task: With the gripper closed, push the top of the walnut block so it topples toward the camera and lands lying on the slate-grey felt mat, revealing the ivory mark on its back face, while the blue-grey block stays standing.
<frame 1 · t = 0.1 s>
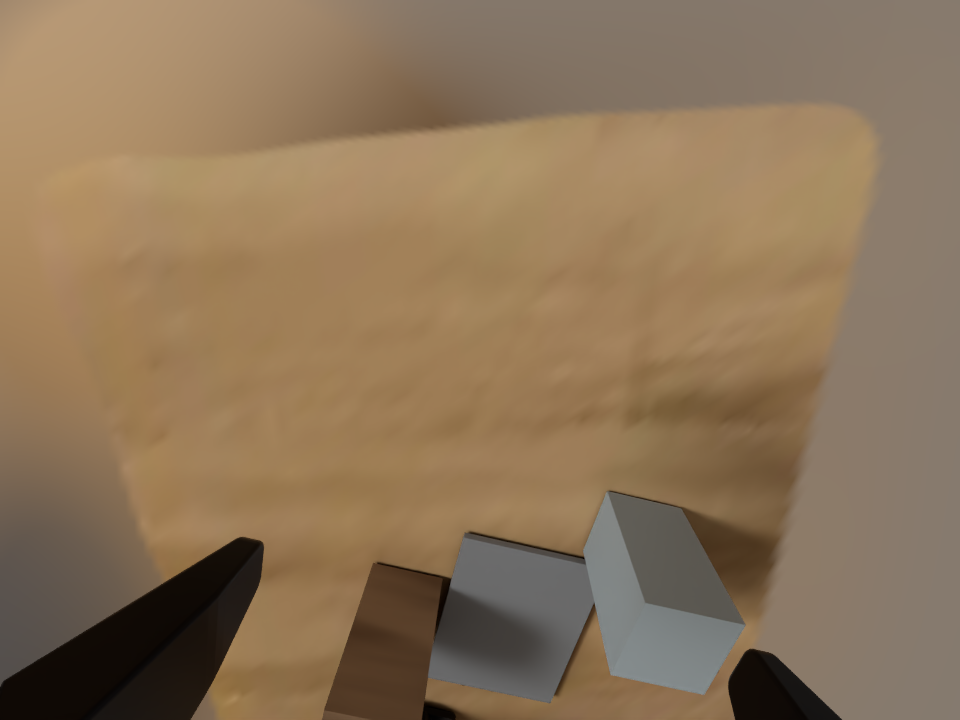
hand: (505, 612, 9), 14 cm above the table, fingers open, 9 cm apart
bluegrey block: (631, 530, 25), on the table
felt mat: (510, 620, 28), on the table
walnut block: (401, 596, 28), on the table
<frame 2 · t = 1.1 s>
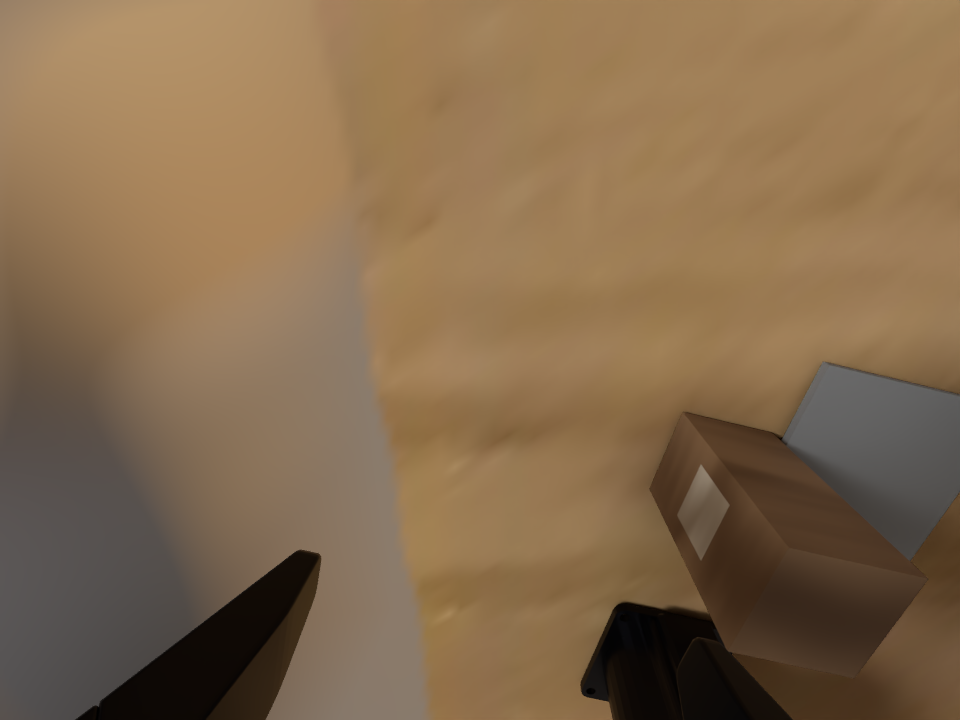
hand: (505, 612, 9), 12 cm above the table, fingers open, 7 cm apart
felt mat: (848, 494, 21), on the table
walnut block: (709, 461, 21), on the table
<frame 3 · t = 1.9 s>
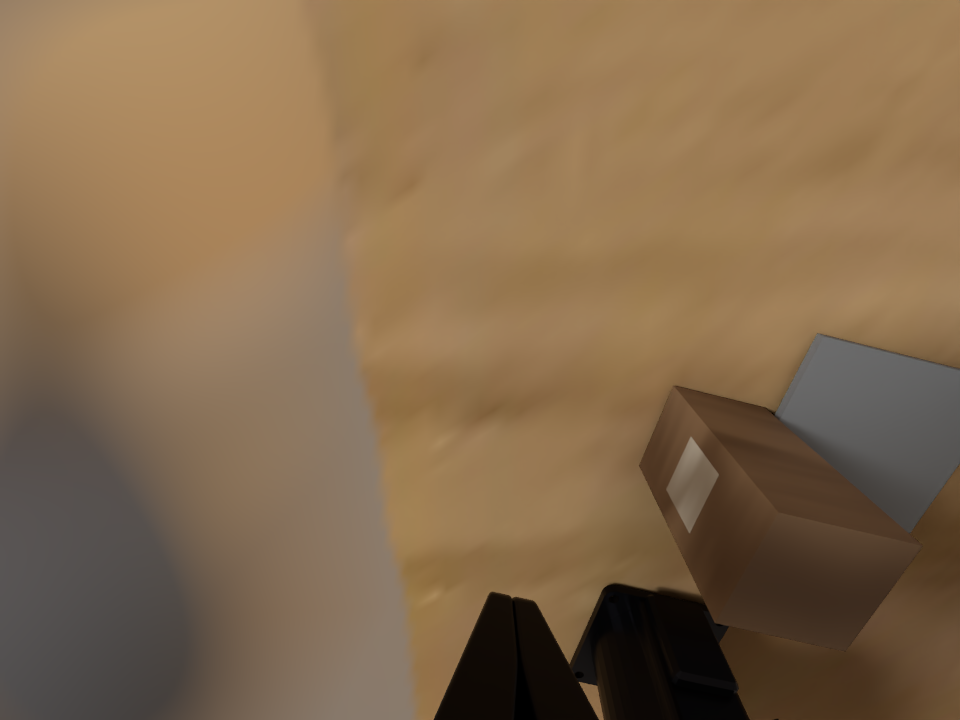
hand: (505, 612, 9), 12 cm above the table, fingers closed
felt mat: (842, 471, 21), on the table
walnut block: (700, 437, 21), on the table
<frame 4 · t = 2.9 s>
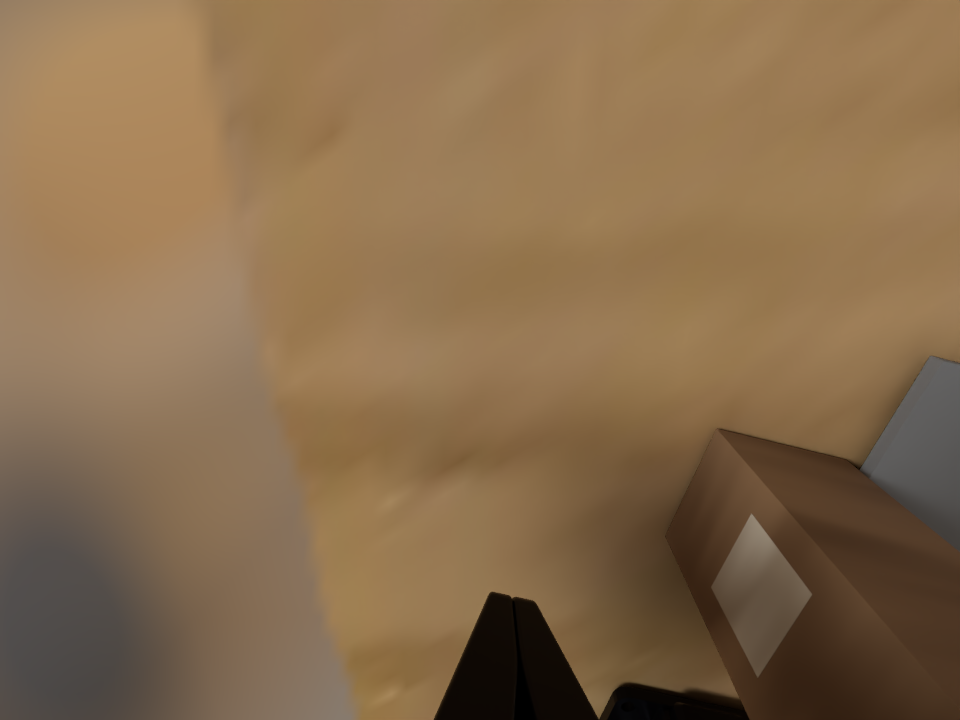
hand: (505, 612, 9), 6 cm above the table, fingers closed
felt mat: (950, 546, 15), on the table
walnut block: (751, 499, 15), on the table
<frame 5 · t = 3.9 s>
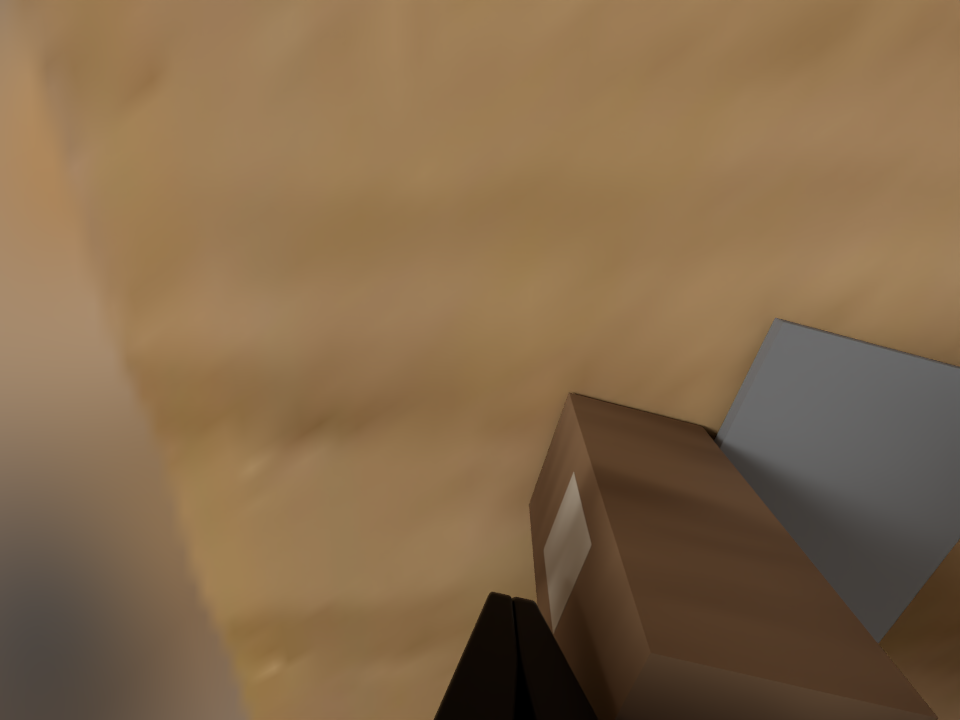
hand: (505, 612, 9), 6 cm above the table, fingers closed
felt mat: (814, 517, 15), on the table
walnut block: (611, 467, 14), on the table, touching gripper
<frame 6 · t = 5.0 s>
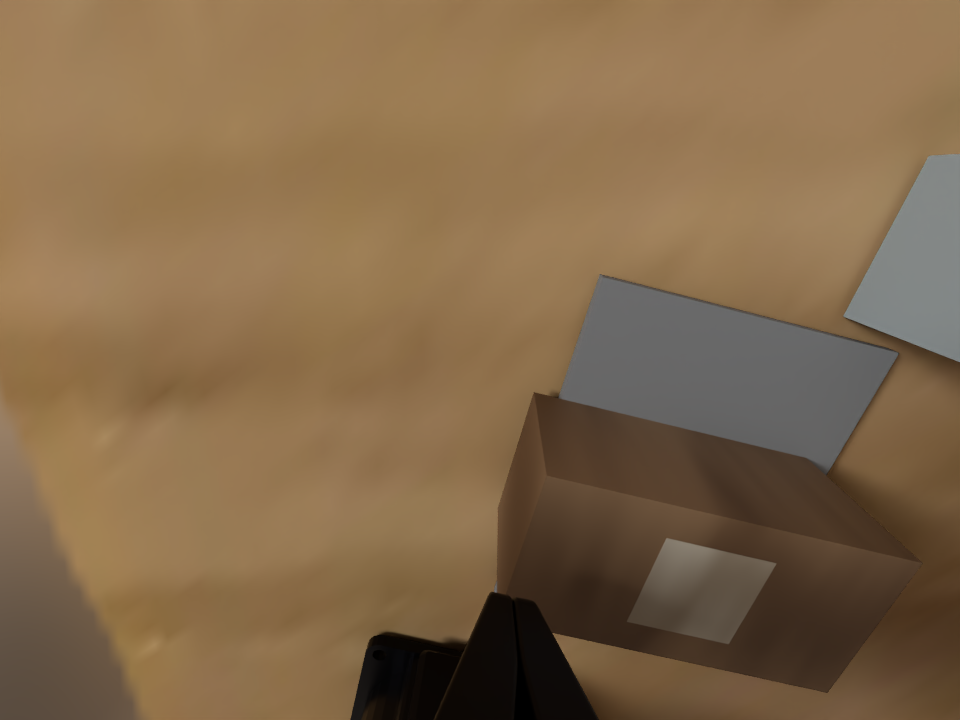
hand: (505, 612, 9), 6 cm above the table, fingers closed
bluegrey block: (958, 260, 12), on the table
felt mat: (667, 482, 15), on the table
walnut block: (517, 495, 12), point 2 cm above the table, tilted 90°, touching felt mat
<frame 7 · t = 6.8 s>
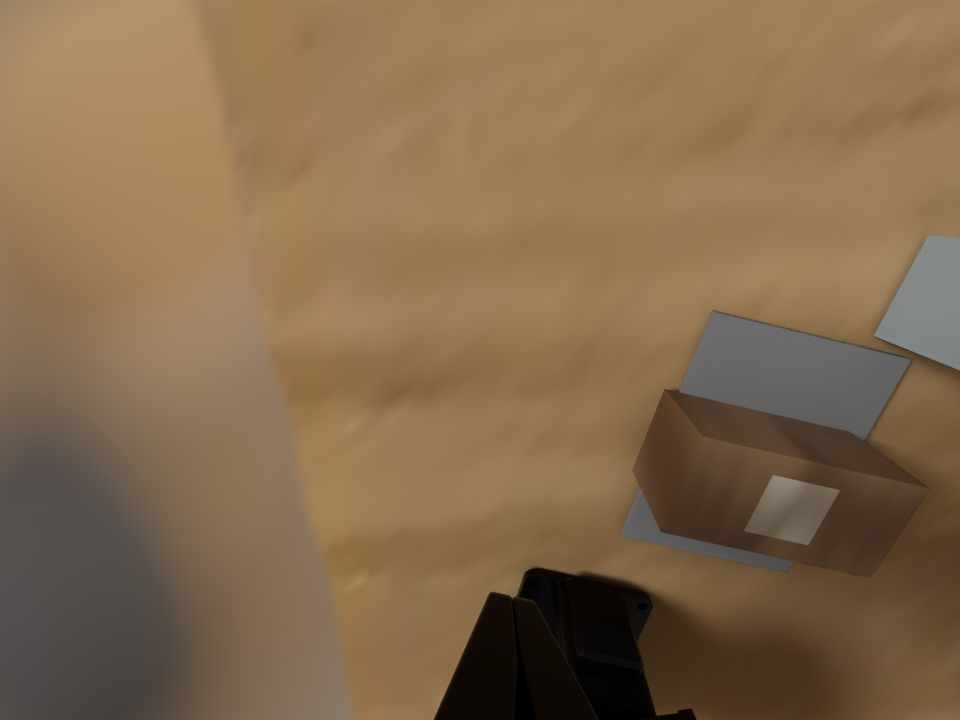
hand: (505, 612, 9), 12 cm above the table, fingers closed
bluegrey block: (949, 299, 18), on the table
felt mat: (750, 450, 21), on the table
walnut block: (662, 455, 18), point 2 cm above the table, tilted 90°, touching felt mat
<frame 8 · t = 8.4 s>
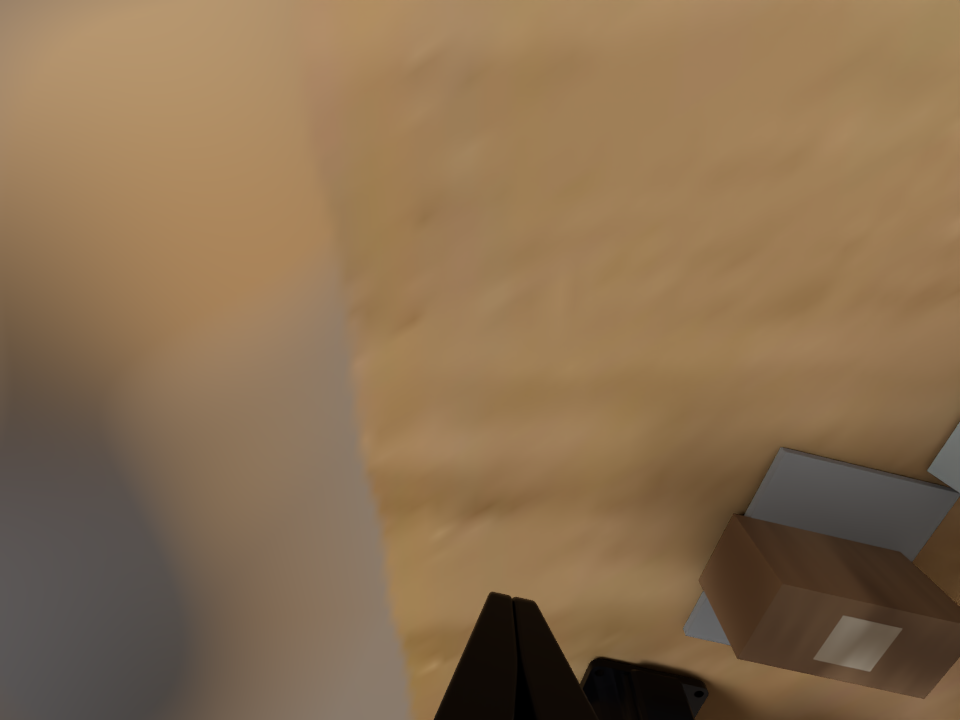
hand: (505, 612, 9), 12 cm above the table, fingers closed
felt mat: (807, 563, 23), on the table
walnut block: (735, 581, 20), point 2 cm above the table, tilted 90°, touching felt mat
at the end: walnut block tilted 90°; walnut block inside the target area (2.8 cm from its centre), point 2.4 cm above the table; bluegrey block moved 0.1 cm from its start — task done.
